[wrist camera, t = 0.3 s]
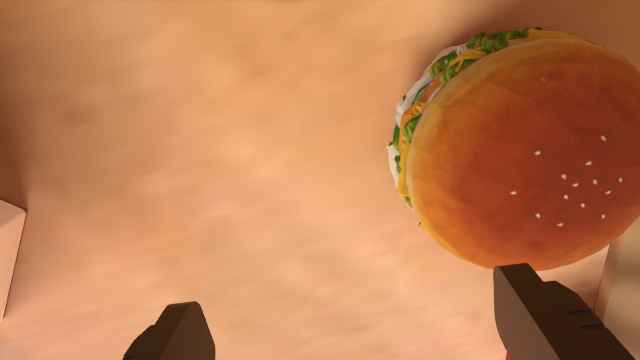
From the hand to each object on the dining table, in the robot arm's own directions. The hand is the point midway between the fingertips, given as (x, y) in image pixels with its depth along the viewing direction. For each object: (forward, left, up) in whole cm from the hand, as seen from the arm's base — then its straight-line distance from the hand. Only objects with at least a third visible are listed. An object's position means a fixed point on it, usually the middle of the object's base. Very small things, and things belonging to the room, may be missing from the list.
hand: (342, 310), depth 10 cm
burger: (+1, +9, -18) cm, 20 cm away
